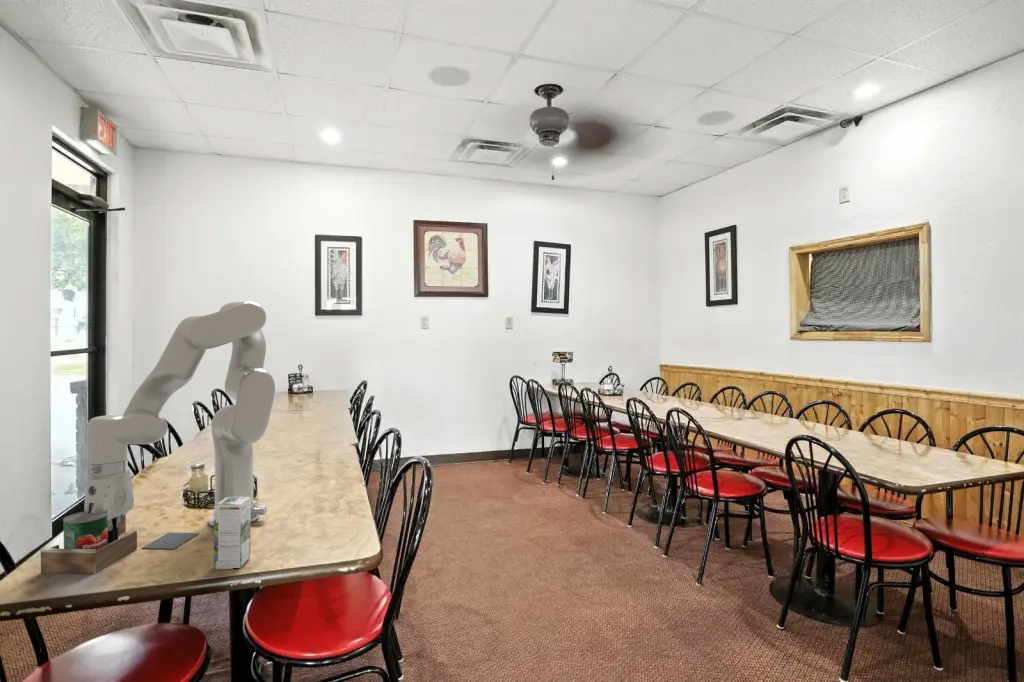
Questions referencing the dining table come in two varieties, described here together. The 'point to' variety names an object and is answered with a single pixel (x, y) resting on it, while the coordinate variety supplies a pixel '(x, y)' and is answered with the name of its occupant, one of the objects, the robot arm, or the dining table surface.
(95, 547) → the canned tomato
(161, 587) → the dining table surface
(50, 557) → the corral
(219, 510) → the syrup box
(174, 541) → the mats
